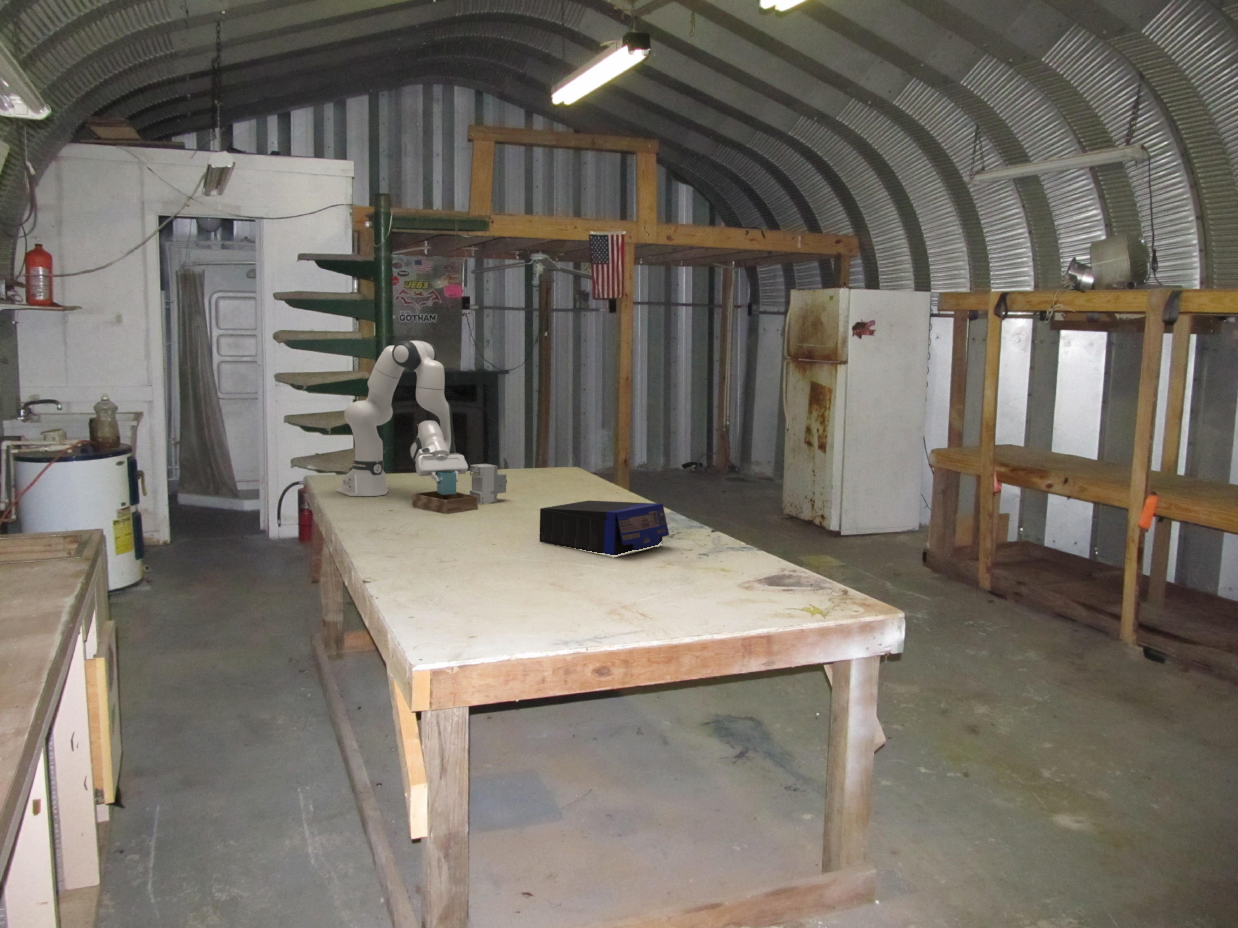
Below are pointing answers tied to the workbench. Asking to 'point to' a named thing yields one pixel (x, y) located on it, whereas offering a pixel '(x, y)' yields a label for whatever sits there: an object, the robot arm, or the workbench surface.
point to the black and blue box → (604, 526)
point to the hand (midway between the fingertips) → (447, 482)
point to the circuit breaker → (487, 482)
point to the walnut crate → (445, 502)
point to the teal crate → (446, 483)
